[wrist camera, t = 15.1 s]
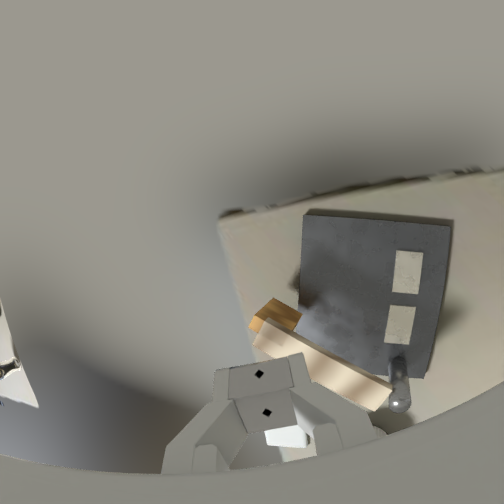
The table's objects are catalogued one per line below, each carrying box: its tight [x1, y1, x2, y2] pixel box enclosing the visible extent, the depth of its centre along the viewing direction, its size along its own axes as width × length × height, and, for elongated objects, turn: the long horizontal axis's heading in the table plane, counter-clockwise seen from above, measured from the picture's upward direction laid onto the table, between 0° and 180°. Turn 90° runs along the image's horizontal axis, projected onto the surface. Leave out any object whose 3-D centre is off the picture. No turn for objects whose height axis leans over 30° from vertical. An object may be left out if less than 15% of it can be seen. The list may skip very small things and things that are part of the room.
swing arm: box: [248, 298, 392, 411], centre depth 42 cm, size 20×4×8 cm, turn 65°
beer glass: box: [0, 356, 21, 381], centre depth 88 cm, size 7×7×15 cm
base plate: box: [296, 215, 451, 413], centre depth 40 cm, size 22×24×12 cm
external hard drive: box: [265, 425, 308, 448], centre depth 54 cm, size 2×8×12 cm
